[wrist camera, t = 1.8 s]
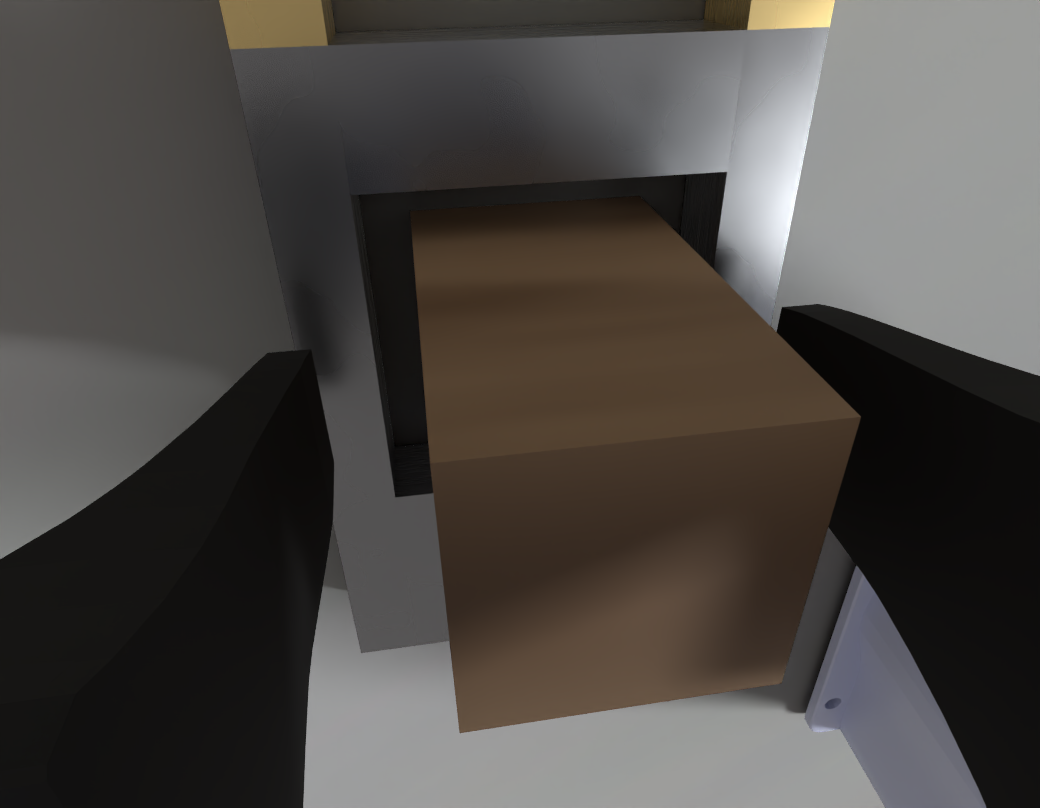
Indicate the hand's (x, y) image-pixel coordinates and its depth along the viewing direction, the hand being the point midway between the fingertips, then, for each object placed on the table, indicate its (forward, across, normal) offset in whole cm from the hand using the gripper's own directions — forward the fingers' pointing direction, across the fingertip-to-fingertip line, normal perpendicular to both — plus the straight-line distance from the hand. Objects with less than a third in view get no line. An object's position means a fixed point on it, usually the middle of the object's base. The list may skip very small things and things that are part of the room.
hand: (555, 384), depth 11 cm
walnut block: (+3, 0, 0) cm, 3 cm away
